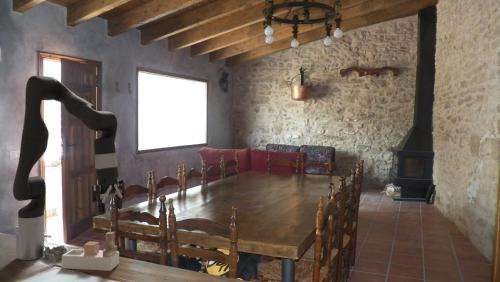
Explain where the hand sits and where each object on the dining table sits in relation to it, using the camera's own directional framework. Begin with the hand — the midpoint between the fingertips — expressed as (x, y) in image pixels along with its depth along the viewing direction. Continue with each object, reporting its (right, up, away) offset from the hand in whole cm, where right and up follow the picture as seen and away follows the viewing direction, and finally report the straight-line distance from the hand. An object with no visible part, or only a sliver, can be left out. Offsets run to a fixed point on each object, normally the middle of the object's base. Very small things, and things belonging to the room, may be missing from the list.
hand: (111, 211), depth 137 cm
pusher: (-5, -19, +11) cm, 23 cm away
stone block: (-12, -19, +12) cm, 25 cm away
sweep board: (-12, -24, +12) cm, 29 cm away
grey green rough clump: (-30, -23, +21) cm, 43 cm away
